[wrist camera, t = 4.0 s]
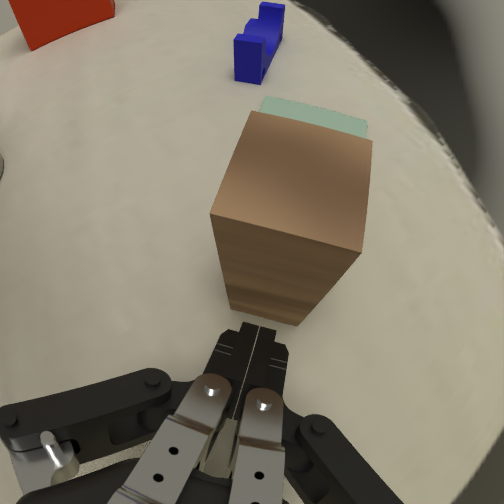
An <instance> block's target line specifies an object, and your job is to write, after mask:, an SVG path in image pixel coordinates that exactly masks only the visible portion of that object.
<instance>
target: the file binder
mask: <svg viewBox="0 0 504 504" xmlns="http://www.w3.org/2000/svg"><path fill="white" fill-rule="evenodd" d="M9 3H10V5H11V7H12V10H13V12H14V14H15V17H16V19H17V22H18V24H19V26H20V28H21V31H22V33H23V35H24V37H25V39H26V41H27V44H28V46H29V48H30V50H31V51H33V50H35V49H37V48H39V47H41V46H43V45H45V44H48V43H50V42H52V41H54V40H56V39H59V38H61V37H63V36H65V35H68V34H70V33H73V32H75V31H77V30H80V29H82V28H85V27H88V26H90V25H93V24H96V23H98V22H101V21H104V20H107V19H110V18H113V17H114V14H115V2H114V0H9Z"/></svg>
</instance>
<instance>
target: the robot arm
mask: <svg viewBox="0 0 504 504" xmlns="http://www.w3.org/2000/svg"><path fill="white" fill-rule="evenodd" d="M3 165H4V164H3V158H2V156H1V155H0V177H1V174H2V171H3ZM258 328H259V326H258V325H254V324H250V323H247V322H243V323H242V326H241V328H240V331H239V332H237V331H233V330H230V329H228V330H226V331H225V332H224V333H222V334H221V335H220V337H219V339H218V342H217V344H216V346H215V348H214V350H213V353H212V355H211V357H210V359H209V361H208V364H207V366H206V368H205V370H204V372H203V374H202V375H200V376H198V377H197V378H196V379H195V380H193V381H190V382H177V381H171V378H170V377H169V375H168V374H167V373H165V372H164V371H162V370H159V369H156V368H146V369H142V370H139V371H136V372H133V373H129V374H126V375H123V376H119V377H116V378H112V379H109V380H106V381H102V382H99V383H95V384H91V385H88V386H84V387H80V388H77V389H73V390H69V391H65V392H61V393H57V394H53V395H49V396H45V397H41V398H36V399H32V400H28V401H23V402H19V403H14V404H9V405H5V406H2V407H0V438H1V440H2V443H3V444H4V446H5V447H6V448H7V450H8V451H9V454H10V457H11V460H12V464H13V467H14V470H15V473H16V476H17V479H18V481H19V484H20V487H21V490H22V492H23V495H24V496H22V497H21V498H20V499H19V500H18V502H17V503H16V504H289V503H288V502H287V501H285V500H284V499H283V498H282V495H283V480H284V475H285V477H286V478H287V480H288V481H289V483H290V484H291V485H292V487H293V488H294V490H295V491H296V492H297V494H298V495H299V497H300V498H301V499H302V501H303V502H304V504H404V503H403V502H402V501H401V500H400V499H399V498H398V497H397V496H396V494H395V493H394V492H393V491H392V490H391V489H390V488H389V487H388V486H387V484H386V483H385V482H384V481H383V480H382V479H381V478H380V477H379V475H378V474H377V473H376V472H375V471H374V470H373V469H372V467H371V466H370V465H369V464H368V463H367V462H366V461H365V459H364V458H363V457H362V456H361V455H360V454H359V453H358V451H357V450H356V449H355V448H354V447H353V446H352V444H351V443H350V442H349V441H348V440H347V438H346V437H345V436H344V435H343V434H342V433H341V431H340V430H339V429H338V428H337V427H336V425H335V424H334V423H333V422H332V421H331V420H330V419H329V418H327V417H325V416H322V415H318V414H312V415H308V416H306V417H302V416H300V415H298V414H296V413H294V412H292V411H291V410H290V409H289V408H288V407H287V406H286V405H285V403H284V401H283V397H282V395H283V388H284V382H285V375H286V369H287V362H288V355H289V353H288V350H287V348H286V345H285V344H281V343H277V342H274V340H275V336H276V330H273V329H269V328H265V327H262V326H261V327H260V330H259V334H258V337H257V341H256V344H255V347H254V351H253V354H252V358H251V361H250V365H249V368H248V371H247V375H246V378H245V382H244V385H243V388H242V392H241V395H240V399H239V402H238V405H237V409H236V412H235V415H234V420H238V423H237V426H236V430H235V433H234V436H233V440H232V446H231V451H230V456H229V461H228V466H227V471H226V475H225V478H215V477H211V476H209V475H207V474H205V473H203V470H204V468H205V465H206V463H207V461H208V459H209V457H210V454H211V452H212V450H213V448H214V446H215V443H216V441H217V439H218V437H219V435H220V432H221V430H222V428H223V427H224V424H225V421H226V418H230V419H232V416H233V413H234V410H235V406H236V403H237V400H238V397H239V393H240V390H241V387H242V384H243V380H244V377H245V374H246V370H247V367H248V364H249V360H250V357H251V353H252V350H253V346H254V343H255V339H256V335H257V332H258ZM149 440H152V441H151V442H150V444H149V446H148V447H147V449H146V450H145V452H144V453H143V455H142V457H141V458H133V459H127V460H124V461H121V462H118V463H116V464H113V465H110V466H108V467H105V468H103V469H100V470H97V471H94V472H92V473H89V474H86V475H83V476H80V477H77V478H74V479H72V478H73V477H75V476H76V475H77V473H78V471H79V468H80V464H83V463H86V462H89V461H92V460H95V459H99V458H102V457H105V456H108V455H111V454H114V453H116V452H119V451H122V450H125V449H128V448H130V447H133V446H136V445H139V444H141V443H144V442H146V441H149ZM69 479H71V480H69ZM67 480H68V481H67Z"/></svg>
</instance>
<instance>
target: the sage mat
mask: <svg viewBox="0 0 504 504" xmlns="http://www.w3.org/2000/svg"><path fill="white" fill-rule="evenodd" d="M259 112H261V113H266V114H271V115H276V116H281V117H285V118H290V119H294V120H298V121H303V122H307V123H311V124H315V125H319V126H323V127H326V128H330V129H334V130H337V131H341V132H345V133H348V134H352V135H355V136H358V137H362V138H365V139H366V134H367V121H366V120H363V119H359V118H356V117H353V116H349V115H346V114H342V113H338V112H335V111H331V110H327V109H323V108H319V107H315V106H311V105H307V104H303V103H299V102H294V101H290V100H285V99H280V98H275V97H270V96H265V98H264V101H263V103H262V106H261V108H260V110H259Z"/></svg>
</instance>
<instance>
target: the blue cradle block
mask: <svg viewBox="0 0 504 504" xmlns="http://www.w3.org/2000/svg"><path fill="white" fill-rule="evenodd" d="M284 12H285V5H284V4H277V3H269V2H262V3H261V4H260V5H259V16H258V19H253V18H251V19H250V20H249V21H248V23H247V24H246V25H245V29H244V33H243V34H237V36H236V37H235V38H234V73H235V81H239V82H246V83H252V84H257V85H261V82H262V80H263V78H264V76H265V74H266V72H267V70H268V67H269V65H270V63H271V61H272V59H273V57H274V55H275V53H276V50H277V48H278V46H279V44H280V42H281V40H282V34H283V23H284Z"/></svg>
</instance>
